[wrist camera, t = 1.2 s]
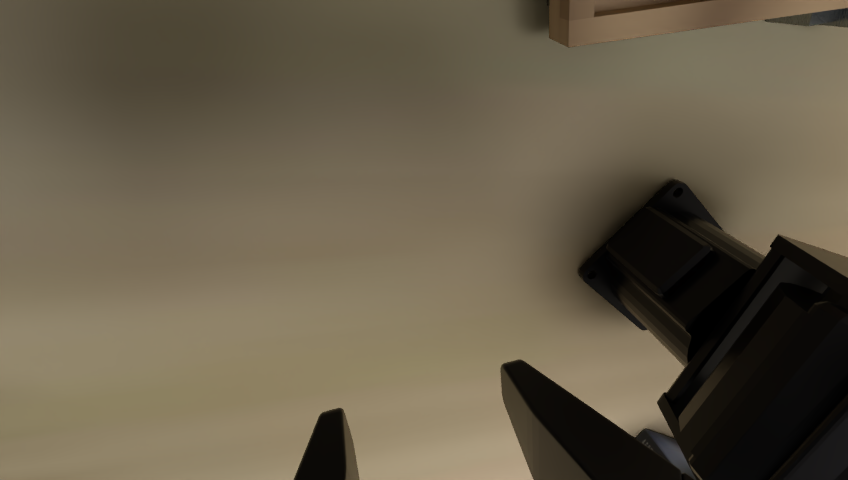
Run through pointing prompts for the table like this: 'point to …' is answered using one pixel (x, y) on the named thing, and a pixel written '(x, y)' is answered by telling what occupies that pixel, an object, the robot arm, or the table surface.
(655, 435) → the small box
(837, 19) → the pivot stand
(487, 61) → the table surface
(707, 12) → the brown long shallow tray
